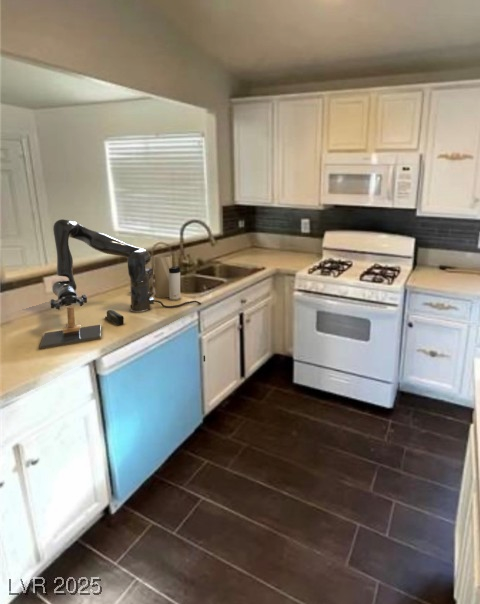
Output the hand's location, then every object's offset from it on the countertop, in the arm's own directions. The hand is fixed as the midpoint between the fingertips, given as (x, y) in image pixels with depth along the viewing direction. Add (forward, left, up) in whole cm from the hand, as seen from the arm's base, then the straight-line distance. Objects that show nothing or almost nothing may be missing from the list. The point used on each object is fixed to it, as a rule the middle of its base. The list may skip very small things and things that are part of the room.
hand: (70, 305), depth 162 cm
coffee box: (-36, -44, -14) cm, 59 cm away
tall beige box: (-46, -39, -14) cm, 62 cm away
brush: (0, +4, -12) cm, 13 cm away
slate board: (-1, +5, -13) cm, 14 cm away
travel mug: (-51, -29, -14) cm, 60 cm away
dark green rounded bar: (-17, -7, -14) cm, 23 cm away
